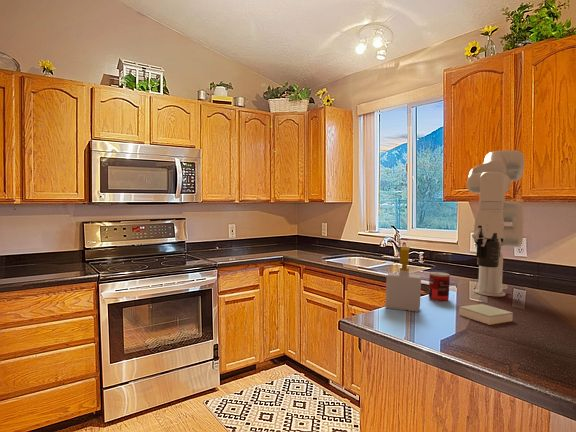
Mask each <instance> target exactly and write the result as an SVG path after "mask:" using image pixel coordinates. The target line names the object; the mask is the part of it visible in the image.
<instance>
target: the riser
mask: <svg viewBox="0 0 576 432" xmlns="http://www.w3.org/2000/svg"><path fill="white" fill-rule="evenodd" d="M513 314H514V313H513V312H512V311H509V310H505V309H501V308H498V307H495V306H491V305H487V304H485V303H479V304H478V303H477V304H471V305H470V304H469V305H463V306H459V314H458V315H459V316H462V317H464V318H468V319H471V320H473V321H477V322H480V323H483V324H486V325H495V324H502V323H508V322H513Z"/></svg>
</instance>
